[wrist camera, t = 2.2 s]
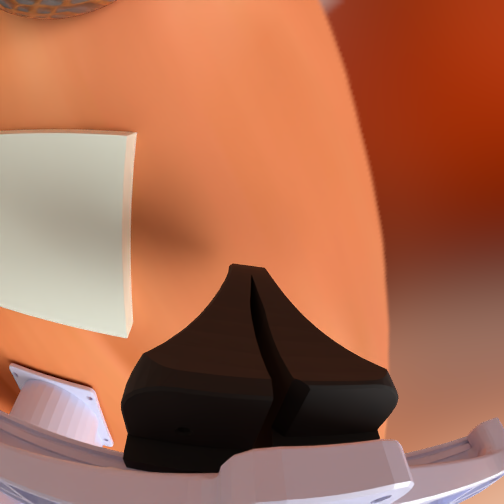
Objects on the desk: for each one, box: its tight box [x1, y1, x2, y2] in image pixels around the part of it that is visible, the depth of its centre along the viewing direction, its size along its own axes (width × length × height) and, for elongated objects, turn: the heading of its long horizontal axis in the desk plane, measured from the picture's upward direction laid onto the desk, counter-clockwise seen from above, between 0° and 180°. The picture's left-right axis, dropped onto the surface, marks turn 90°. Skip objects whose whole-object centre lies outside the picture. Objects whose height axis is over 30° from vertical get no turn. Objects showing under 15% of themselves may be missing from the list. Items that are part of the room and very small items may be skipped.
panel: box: [0, 129, 137, 338], centre depth 13 cm, size 10×9×2 cm
